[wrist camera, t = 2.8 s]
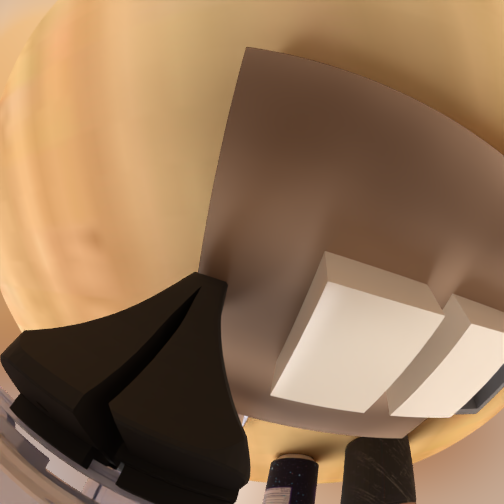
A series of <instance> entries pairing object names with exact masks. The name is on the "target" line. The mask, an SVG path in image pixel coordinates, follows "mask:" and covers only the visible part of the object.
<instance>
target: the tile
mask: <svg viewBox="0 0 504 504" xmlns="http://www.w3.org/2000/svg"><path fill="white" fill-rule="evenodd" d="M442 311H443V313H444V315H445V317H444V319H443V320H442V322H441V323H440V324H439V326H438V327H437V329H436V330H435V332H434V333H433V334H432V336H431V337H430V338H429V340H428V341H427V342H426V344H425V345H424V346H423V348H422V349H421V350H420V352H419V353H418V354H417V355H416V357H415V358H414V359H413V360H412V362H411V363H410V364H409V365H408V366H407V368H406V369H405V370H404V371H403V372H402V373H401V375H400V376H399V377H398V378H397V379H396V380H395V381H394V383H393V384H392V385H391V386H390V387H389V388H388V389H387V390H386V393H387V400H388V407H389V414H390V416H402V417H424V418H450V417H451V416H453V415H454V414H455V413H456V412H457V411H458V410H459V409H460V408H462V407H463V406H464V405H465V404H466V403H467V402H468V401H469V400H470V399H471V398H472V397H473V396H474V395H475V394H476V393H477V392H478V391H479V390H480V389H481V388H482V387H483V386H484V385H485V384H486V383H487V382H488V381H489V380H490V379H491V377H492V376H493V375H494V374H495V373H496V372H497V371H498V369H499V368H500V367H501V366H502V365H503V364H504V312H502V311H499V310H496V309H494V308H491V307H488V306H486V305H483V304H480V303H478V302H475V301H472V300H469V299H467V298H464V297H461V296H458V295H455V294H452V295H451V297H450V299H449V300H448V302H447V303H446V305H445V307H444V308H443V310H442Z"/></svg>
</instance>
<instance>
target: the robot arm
mask: <svg viewBox="0 0 504 504" xmlns="http://www.w3.org/2000/svg"><path fill="white" fill-rule="evenodd" d="M227 288H228V284H227V283H226V282H225V281H222V280H219V279H216V278H213V277H210V276H207V275H204V274H201V273H197V272H194V273H192V274H190V275H189V276H187V277H186V278H184V279H182V280H181V281H179V282H177V283H176V284H174V285H172V286H171V287H169V288H167V289H165V290H164V291H162V292H160V293H158V294H157V295H155V296H153V297H151V298H149V299H147V300H145V301H143V302H141V303H139V304H137V305H135V306H132V307H130V308H128V309H125V310H123V311H120V312H118V313H115V314H112V315H109V316H106V317H102V318H99V319H96V320H92V321H89V322H85V323H81V324H76V325H71V326H65V327H59V328H52V329H41V330H25V331H24V332H23V333H21V334H20V335H19V337H17V338H16V340H15V341H14V342H13V343H12V344H11V345H10V346H9V347H8V348H7V349H6V350H5V351H4V352H3V353H2V354H1V356H0V358H1V359H0V360H1V363H2V366H3V367H4V369H5V371H6V373H7V374H8V375H9V377H10V379H11V380H12V382H13V383H14V385H15V386H16V387H17V389H18V390H19V392H20V395H19V396H18V397H17V398H16V400H14V399H13V398H12V397H11V396H10V395H9V394H8V393H7V392H6V391H5V390H4V389H3V388H2V387H1V386H0V504H234V503H235V502H236V500H237V496H238V492H239V489H241V488H242V487H243V486H244V485H246V484H247V483H248V481H249V478H250V457H249V449H248V441H247V436H246V434H245V431H244V429H243V426H244V424H245V422H246V420H247V418H248V416H244V415H241V414H237V411H236V408H235V404H234V401H233V398H232V395H231V391H230V387H229V383H228V379H227V375H226V370H225V364H224V358H223V350H222V339H221V315H222V311H223V306H224V302H225V297H226V293H227ZM14 421H15V422H16V423H17V424H18V425H20V427H21V428H23V429H24V430H25V431H26V432H27V433H28V434H29V435H31V436H32V437H33V438H34V439H35V440H36V441H38V442H39V443H40V444H41V445H43V446H44V447H45V448H46V449H48V450H49V451H50V452H52V453H53V454H54V455H56V456H57V457H59V458H60V459H61V460H63V461H64V462H66V463H67V464H68V465H70V466H71V467H73V468H75V469H76V470H77V471H79V472H81V473H82V474H84V475H85V476H87V477H89V478H88V480H87V482H86V483H85V485H84V488H83V490H82V492H79V491H78V490H76V489H75V488H73V487H71V486H70V485H68V484H67V483H65V482H64V481H62V480H61V479H59V478H58V477H57V476H55V475H54V474H53V473H51V472H50V471H49V470H47V469H46V466H47V464H48V462H49V461H50V460H49V458H48V457H47V456H45V455H44V454H43V453H42V452H40V451H39V450H38V449H37V448H35V446H33V445H32V444H31V443H30V442H29V441H28V440H27V439H26V438H25V437H24V436H22V435H21V434H20V433H19V432H18V431H17V430H16V429H15V422H14Z"/></svg>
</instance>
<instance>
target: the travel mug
mask: <svg viewBox="0 0 504 504" xmlns="http://www.w3.org/2000/svg"><path fill="white" fill-rule="evenodd" d="M341 504H416V492H415V482H414V473H413V465H412V458H411V451H410V445H409V440H408V436H407V435H406V436H404V437H403V438H375V437H360V438H358V439H356V440H354V441H352V442H351V443H349V444H348V445H347V447H346V450H345V461H344V475H343V486H342V495H341Z"/></svg>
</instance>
